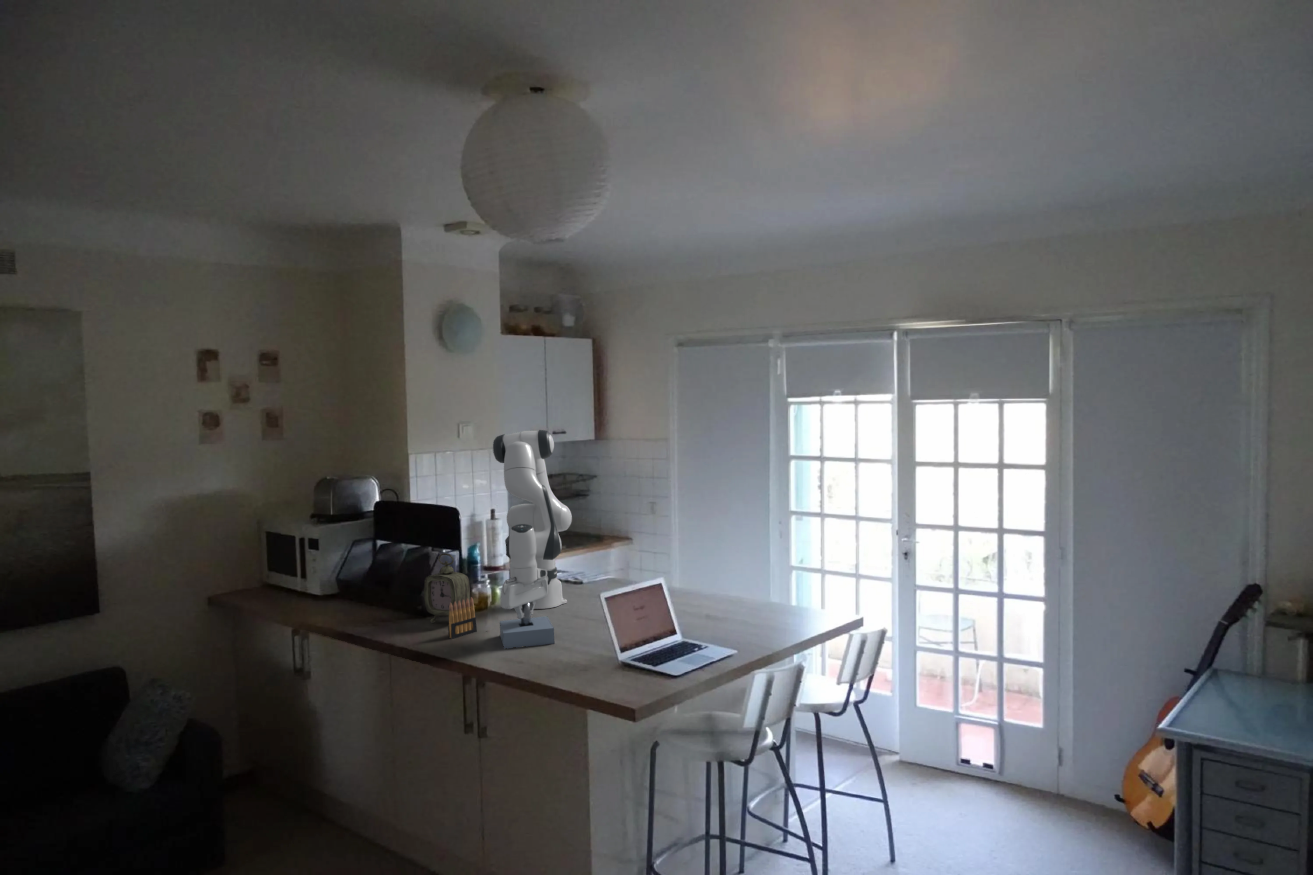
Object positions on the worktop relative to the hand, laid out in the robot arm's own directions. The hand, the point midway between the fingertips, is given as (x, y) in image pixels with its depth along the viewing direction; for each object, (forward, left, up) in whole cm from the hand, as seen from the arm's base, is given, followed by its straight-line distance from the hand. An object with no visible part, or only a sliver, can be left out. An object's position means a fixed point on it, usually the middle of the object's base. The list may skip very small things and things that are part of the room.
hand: (525, 616), depth 278 cm
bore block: (0, 0, -8) cm, 8 cm away
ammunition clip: (-14, -20, -8) cm, 26 cm away
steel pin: (0, 0, -5) cm, 5 cm away
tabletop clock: (-33, -24, -8) cm, 41 cm away
